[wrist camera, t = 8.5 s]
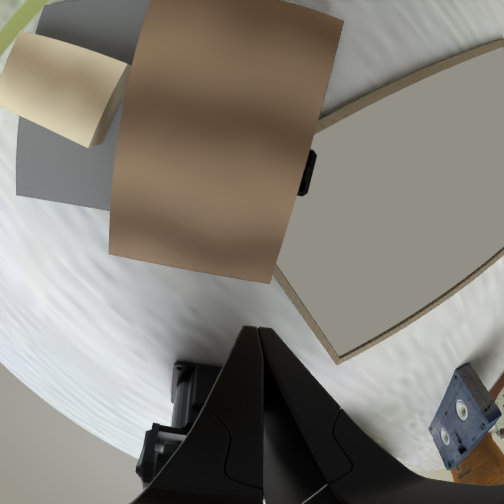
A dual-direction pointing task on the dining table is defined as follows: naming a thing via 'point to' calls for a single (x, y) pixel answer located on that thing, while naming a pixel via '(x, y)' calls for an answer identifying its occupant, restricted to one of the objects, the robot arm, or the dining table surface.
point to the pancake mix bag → (481, 465)
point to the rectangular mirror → (398, 202)
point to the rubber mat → (57, 146)
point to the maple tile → (63, 87)
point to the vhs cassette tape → (463, 416)
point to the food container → (499, 402)
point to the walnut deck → (218, 132)
